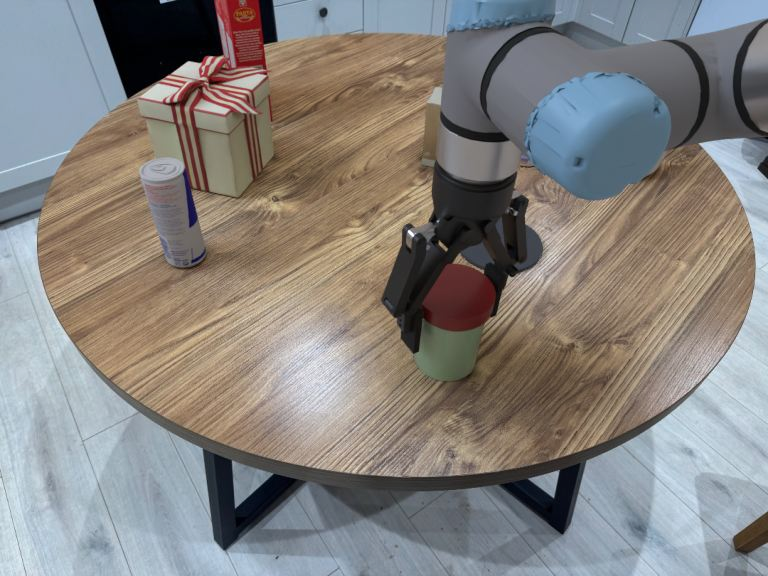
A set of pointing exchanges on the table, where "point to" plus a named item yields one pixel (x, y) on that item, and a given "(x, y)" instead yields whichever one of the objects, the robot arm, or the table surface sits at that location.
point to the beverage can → (173, 211)
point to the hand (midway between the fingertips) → (449, 326)
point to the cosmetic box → (431, 127)
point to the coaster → (481, 257)
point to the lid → (459, 299)
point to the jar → (447, 352)
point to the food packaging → (241, 34)
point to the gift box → (212, 123)
